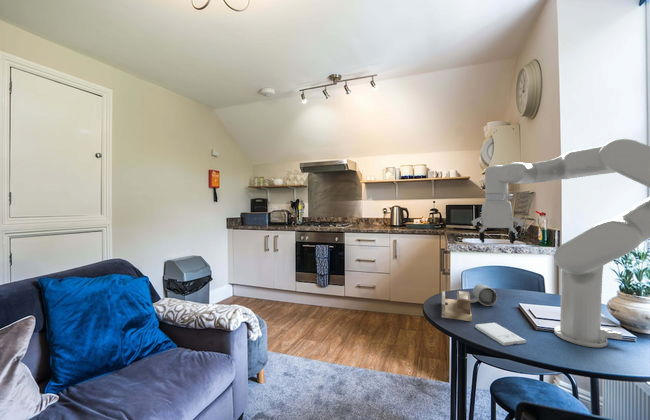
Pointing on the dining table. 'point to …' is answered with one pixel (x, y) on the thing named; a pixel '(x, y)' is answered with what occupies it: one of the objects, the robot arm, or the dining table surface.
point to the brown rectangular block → (463, 302)
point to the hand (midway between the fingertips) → (497, 242)
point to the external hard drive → (500, 334)
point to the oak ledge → (453, 309)
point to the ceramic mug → (483, 295)
